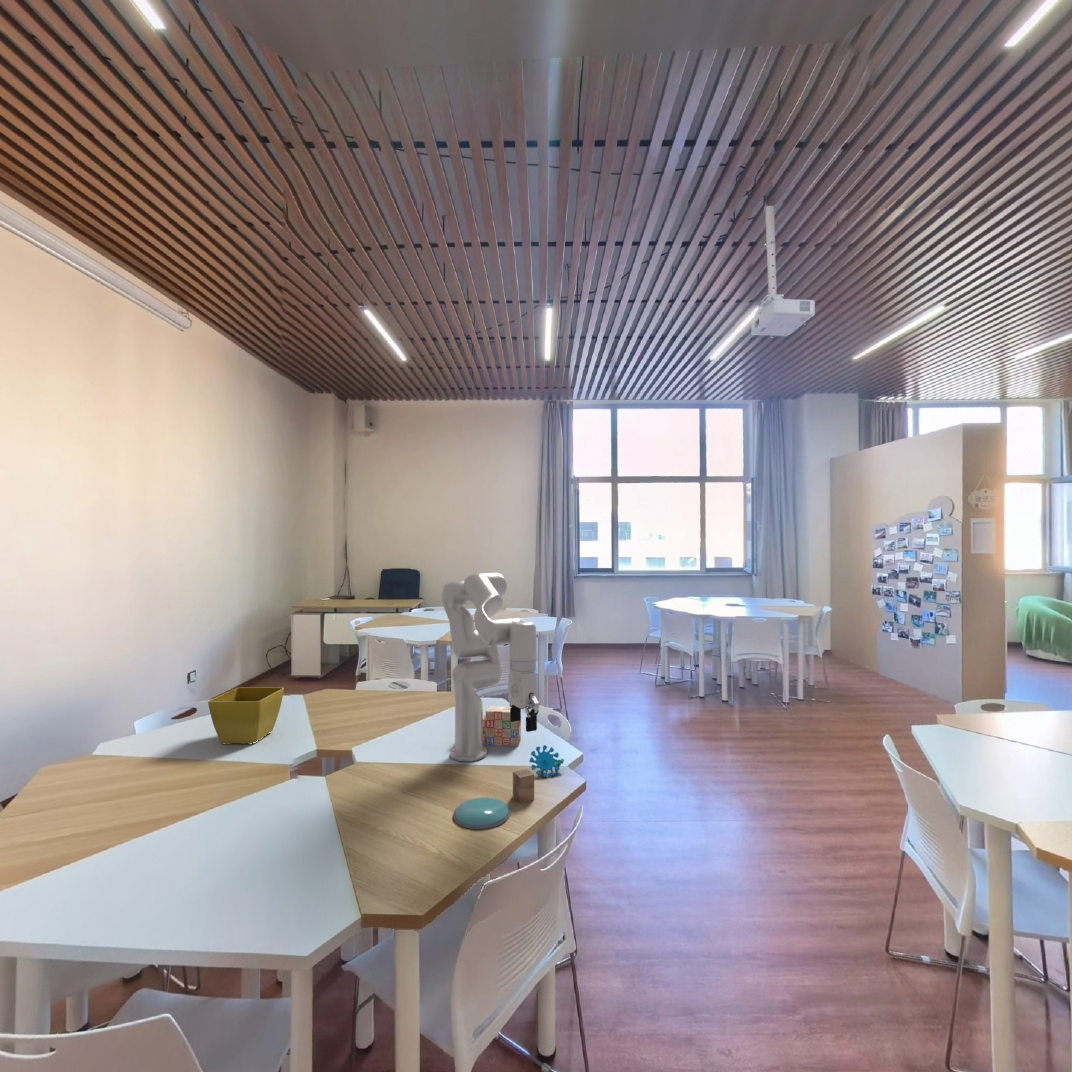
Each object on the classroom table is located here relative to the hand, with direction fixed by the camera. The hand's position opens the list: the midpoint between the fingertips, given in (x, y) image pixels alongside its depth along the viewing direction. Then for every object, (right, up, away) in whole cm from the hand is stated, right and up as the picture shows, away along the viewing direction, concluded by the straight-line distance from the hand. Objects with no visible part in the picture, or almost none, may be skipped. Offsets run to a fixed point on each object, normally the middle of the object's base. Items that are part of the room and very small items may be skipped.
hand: (523, 725), depth 149 cm
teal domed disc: (-11, -20, -10) cm, 25 cm away
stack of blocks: (-13, -22, +43) cm, 50 cm away
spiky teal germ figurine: (+7, -21, +16) cm, 27 cm away
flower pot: (-105, -22, +48) cm, 118 cm away
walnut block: (0, -20, -1) cm, 20 cm away
